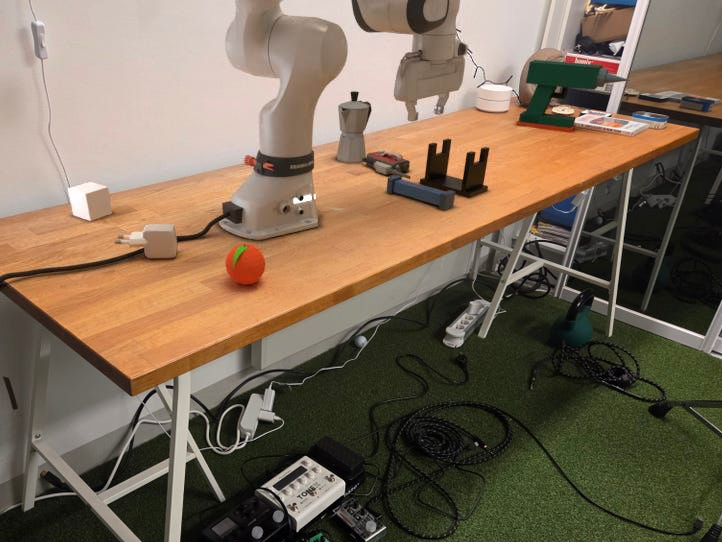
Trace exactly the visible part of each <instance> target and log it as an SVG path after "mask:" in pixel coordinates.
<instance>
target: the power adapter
mask: <svg viewBox="0 0 722 542" xmlns="http://www.w3.org/2000/svg"><path fill="white" fill-rule="evenodd" d="M176 236H177V230H176V226H175V224H173V223H147V224H145V225H144V227H143V229H142V231H141V230H140V231H139V230H138V231H132V232H131V234H118V235H117V236H116V238H117V239H116V240H114V244H115V245H129V247H130V248H144V250H145V253H144V254H145V255H144V256H145V257H146V258H148V259H174V258H176V257H177V253H178V241H177V237H176Z"/></svg>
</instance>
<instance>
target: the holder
mask: <svg viewBox="0 0 722 542" xmlns="http://www.w3.org/2000/svg"><path fill="white" fill-rule="evenodd" d="M451 147H452V139H451V138H443V140H442V146H441V152H437V149H438V143H437V142H431V143H428V146H427V155H426V162H425V172H424V177H422V178H420V179H419V183H418V184H420V185H423V186H427V187H430V188H434V189H437V190H441V191H444V192H446V191H449V190H451V191H455V195H458V196H461V197H465V198H469V199H470V198H473V197H475V196H477V195H480V194H482V193H485V192H487V191H488V189H489V185H485V184H484V182H485V178H486V171H487V166H488V161H489V160H488V159H489V153H490V147H488V146H484V147H480V152H479V158H478V161H475V159H476V153H477V152H476V151H473V150H471V151H468V152H466V156H465V162H464V167H463V175H462V178H459V177H455V176H451V175H448V168H449V162H450V161H449V160H450V154H451Z"/></svg>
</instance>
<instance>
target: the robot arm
mask: <svg viewBox="0 0 722 542" xmlns="http://www.w3.org/2000/svg"><path fill="white" fill-rule="evenodd" d="M283 1H284V0H234V3H235V4H234V5H235V13H234V19H233V20H232V21H231V22H230V24H229V26H228V27H227V29H226V34H225V39H224V48H225V53H226V54H225V55H226V57H227V60H228V61H229V64H230V65H231V66H232V67H233V68H234V69H236V70H238V71H241V72H243V73H246V74H249V75H251V76H254V77H262V78H270V79H278V80H279V87H278V88H279V89H278V93H277V95H276V97H275V98H273V99H271V100H270V101H268V102H267V103H265V104H264V105H263V107H261V109H260V111H259V114H258V139H259V140H258V141H259V142H258V143H259V145H258V146H259V149H258V151H257V154H256V156H252V155H250V154H246V155H245V156H244V157H243V164H244V165H245V166H249V167H253V168H252V169H253V171H252V172H251V173H250V174H249V176H248V177H246V178H245V180H244V181H243V183H241V184H240V185H239V187H238V188H236V190H235V191H234V192H233V193H232V195H231V197H230V200H229V201H224V202H221V204H222V214H221V215H219V216H217V217H215V218H213V219H212V220H211V221H209V223H208V224H206V226H205V227H204V229H202V230H201V231H198V232H196V233H193V234H188V235H185V234H184V235H176V237H177V242H178V241H190V240H195V239H196V240H197V239H199V238H202V237H204V236H205V235H207V234H208V233H209V231H210V230H211V229H212V228H213V227H214V226H215V225H217V224H218V223H219V224H218V225H219V226H220V227H221V229H223V230H225V231H227V232H229V233H231V234H233V235H235V236H238V237H241V238H245V239H249V240H257V241H261V240H267V239H270V238H274V237H278V236H285V235H288V234H292V233H296V232H301V231H305V230H309V229H314V228H317V227H318V226H319V219H318V218H319V215H320V214H319V211H318V208H317V203H316V194H315V186H314V179H313V177H314V175H313V170H314V169H315V151H314V150H313V136H314V135H313V134H314V133H313V132H314V131H313V130H314V120H315V119H314V118H315V112H316V108H317V105H318V102H319V100H320V98H321V96H322V94H323V92H324V91H325V89H326V88H327V87H328V85H330V83H331V82H332V81H335V79H337V78H338V76H339V75H340V74H341V72H342V71H343V69H344V68H345V66H346V63H347V60H348V54H349V53H348V52H349V46H348V45H349V44H348V40H347V37H346V33H345V31H344V30H343V29H342V27H341V26H340V25H339V24H337V23H335V22H333V21H330V20H327V19H323V18H320V17H317V16H303V15H302V16H301V15H288V14H285V13H284V12H283V10H282V9H281V5H280V4H281V3H282V2H283ZM350 1H351V8H352V13H353V17H354V20H355V22H356V24H357V25H358V27H359V28H360V29H361V30H362V31H364V32H365V33H369V34H371V33H388V34H395V35H396V34H397V35H398V34H399V35H412V43H411V51H408V52H406V53H404V55H403V56H402V58H401V59H400V60H399V64H398V67H397V71H396V75H395V80H394V87H393V88H394V89H393V97H394V99H395V101H399V102H401V103H402V102H403V103H404V106H405V108H406V112H407V121H408V122H411V123H413V122H416V121H418V120H419V111H417V108H416V106H417V105H418V100H421V99H422V100H423V99H427V98H431V97H435V96H437V97H438V98H437V102H436V104H435V105H434V106H433V114H434V115H438V116H440V115H444V112H445V106H446V104H447V102H448V100H449V98H450V93H452V92H453V93H454V92H457V91H459V90H460V88H461V87H462V84H463V81H464V74H465V68H466V67H465V66H466V58H465V56H467V54H468V50H469V45H468V44H467V43H465V42H463V41H461V40H459V38H456V37H457V25H456V24H457V23H456V21H457V16H458V14H459V11H460V7H461V0H350ZM142 254H145V250H144V247H140V248H138V249H136V250H134V251H130V252H128V253H124V254H121V255H117V256H114V257H110V258H106V259H102V260H101V259H100V260H97V261H91V262H85V263H79V264H72V265H71V264H70V265H64V266H54V267H52V266H51V267H43V268H36V269H31V270H24V271H14V272H8V273H4V274H2V275H0V284H2V283H3V282H4V281H7V280H10V279H17V278H26V277H31V276H37V275H42V274H53V273H64V272H71V271H78V270H79V271H80V270H84V269H90V268H96V267H102V266H106V265H110V264H115V263H119V262H122V261H125V260H129V259H131V258H134V257H137V256H140V255H142ZM2 379H3V382H4V385H5V388H6V391H7V394H8V397H9V400H10V404H11V408H12V410H13V411H16V410H18V409H19V406H18V402H17V399H16V395H15V392H14V389H13V386H12V382H11V380H10V379H11V378H10V377H7V376H2Z"/></svg>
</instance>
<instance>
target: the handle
mask: <svg viewBox="0 0 722 542" xmlns="http://www.w3.org/2000/svg"><path fill="white" fill-rule="evenodd" d="M386 193H387V194H389V195H392V194H399V195H402V196H406V197H409V198H412V199H416V200H419V201H423V202H426V203H429V204H433V205H435V206H438V209H439V210H442V211H446V210H449V209H451V208H454V203H455V199H456V194H455V191H451V190H449V191H443V190H440V189H436V188H433V187H429V186H426V185H422V184H419V183H416V182H414V181H413V182H412V181H409V180H406V179H403V177H402V176H398V175H393V176H391V177H387V181H386Z"/></svg>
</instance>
